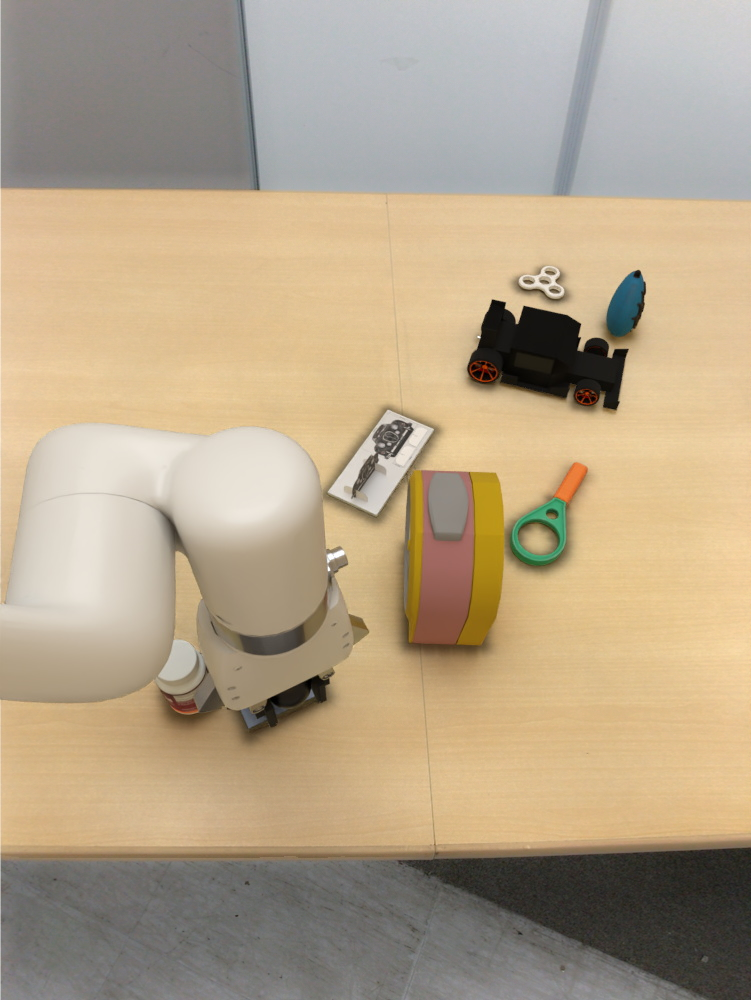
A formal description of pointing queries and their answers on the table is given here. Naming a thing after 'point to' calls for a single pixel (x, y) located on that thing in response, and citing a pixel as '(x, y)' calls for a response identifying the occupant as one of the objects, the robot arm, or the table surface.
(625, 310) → the ornament
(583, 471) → the magnifying glass
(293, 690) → the switch lever
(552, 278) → the fidget spinner
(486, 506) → the alarm clock
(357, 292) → the table surface
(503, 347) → the toy race car
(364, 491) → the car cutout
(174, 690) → the pill bottle
